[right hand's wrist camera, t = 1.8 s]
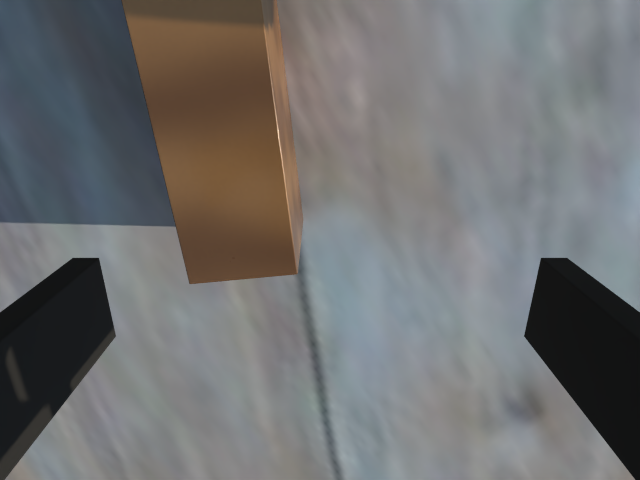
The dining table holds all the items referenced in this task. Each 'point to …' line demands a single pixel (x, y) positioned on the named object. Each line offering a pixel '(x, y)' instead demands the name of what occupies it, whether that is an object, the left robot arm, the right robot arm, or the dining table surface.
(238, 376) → the dining table surface
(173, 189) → the bar
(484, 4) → the dining table surface
